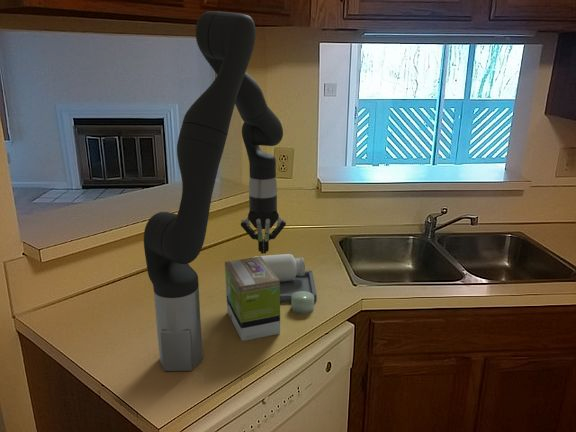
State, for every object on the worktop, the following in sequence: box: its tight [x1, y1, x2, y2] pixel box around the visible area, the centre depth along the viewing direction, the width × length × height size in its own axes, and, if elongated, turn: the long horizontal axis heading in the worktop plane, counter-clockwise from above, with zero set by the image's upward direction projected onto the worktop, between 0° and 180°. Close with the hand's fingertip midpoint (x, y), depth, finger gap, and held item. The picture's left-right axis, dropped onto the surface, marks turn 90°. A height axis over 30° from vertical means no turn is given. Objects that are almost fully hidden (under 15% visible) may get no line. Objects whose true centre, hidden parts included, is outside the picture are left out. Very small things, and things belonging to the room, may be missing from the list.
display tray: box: [280, 270, 318, 303], centre depth 140 cm, size 16×16×2 cm
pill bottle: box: [252, 253, 306, 282], centre depth 143 cm, size 8×8×15 cm
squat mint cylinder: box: [290, 291, 315, 315], centre depth 129 cm, size 6×6×4 cm
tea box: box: [224, 255, 281, 342], centre depth 120 cm, size 15×10×15 cm, turn 21°
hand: (263, 252), depth 137 cm, fingers closed
